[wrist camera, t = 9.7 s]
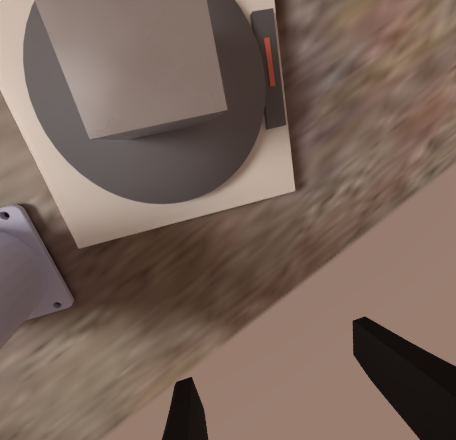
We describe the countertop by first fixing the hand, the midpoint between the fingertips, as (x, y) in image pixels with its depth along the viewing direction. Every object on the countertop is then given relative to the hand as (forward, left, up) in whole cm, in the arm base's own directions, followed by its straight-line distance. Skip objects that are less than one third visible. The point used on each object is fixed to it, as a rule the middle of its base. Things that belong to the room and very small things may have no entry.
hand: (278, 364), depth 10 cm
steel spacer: (-2, +12, -7) cm, 14 cm away
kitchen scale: (-2, +12, -10) cm, 16 cm away
